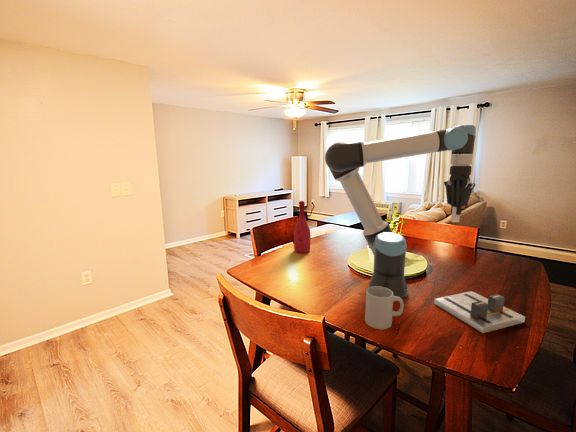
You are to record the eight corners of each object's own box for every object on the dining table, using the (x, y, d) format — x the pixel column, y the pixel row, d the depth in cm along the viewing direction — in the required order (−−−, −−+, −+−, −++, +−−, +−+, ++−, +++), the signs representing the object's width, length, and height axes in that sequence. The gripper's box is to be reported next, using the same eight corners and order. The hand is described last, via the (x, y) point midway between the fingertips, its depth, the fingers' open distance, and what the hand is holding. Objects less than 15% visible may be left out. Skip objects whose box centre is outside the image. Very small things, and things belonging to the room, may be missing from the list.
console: (482, 333, 86) (485, 313, 85) (434, 303, 104) (435, 286, 102) (524, 322, 91) (527, 303, 90) (471, 295, 109) (473, 279, 107)
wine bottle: (291, 249, 169) (290, 200, 163) (306, 247, 172) (306, 199, 166) (297, 254, 160) (296, 202, 154) (313, 252, 163) (312, 201, 156)
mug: (367, 329, 89) (368, 297, 87) (362, 314, 97) (364, 285, 95) (406, 330, 88) (408, 298, 86) (398, 315, 96) (400, 286, 94)
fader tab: (494, 311, 94) (495, 299, 93) (486, 307, 96) (488, 295, 95) (502, 309, 95) (504, 297, 94) (495, 306, 97) (497, 293, 96)
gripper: (483, 165, 108) (476, 224, 113) (454, 164, 120) (449, 218, 125) (468, 165, 106) (461, 226, 111) (440, 165, 118) (435, 219, 123)
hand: (455, 221), depth 118 cm, fingers closed
